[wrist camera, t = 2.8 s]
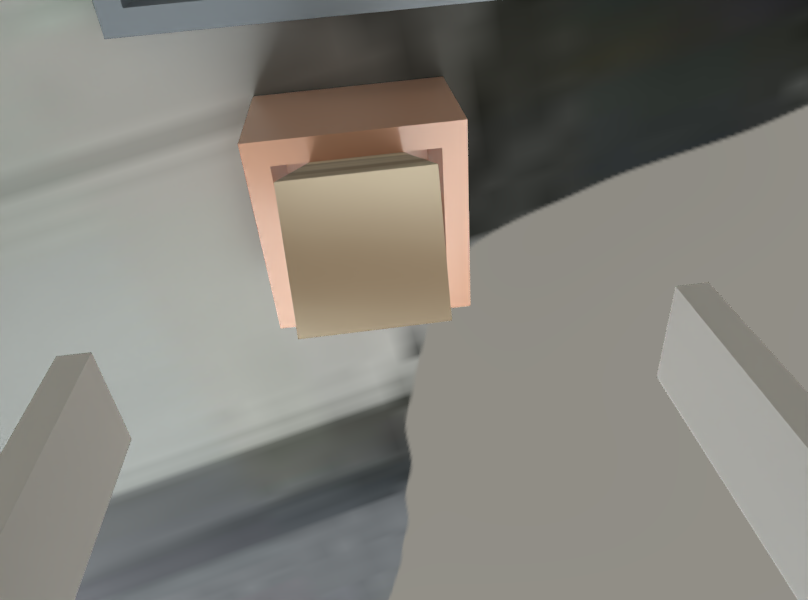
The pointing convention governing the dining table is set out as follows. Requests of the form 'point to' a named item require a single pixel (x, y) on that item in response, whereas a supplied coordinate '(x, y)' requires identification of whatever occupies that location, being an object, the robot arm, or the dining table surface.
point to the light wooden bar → (364, 244)
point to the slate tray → (231, 13)
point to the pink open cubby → (355, 137)
